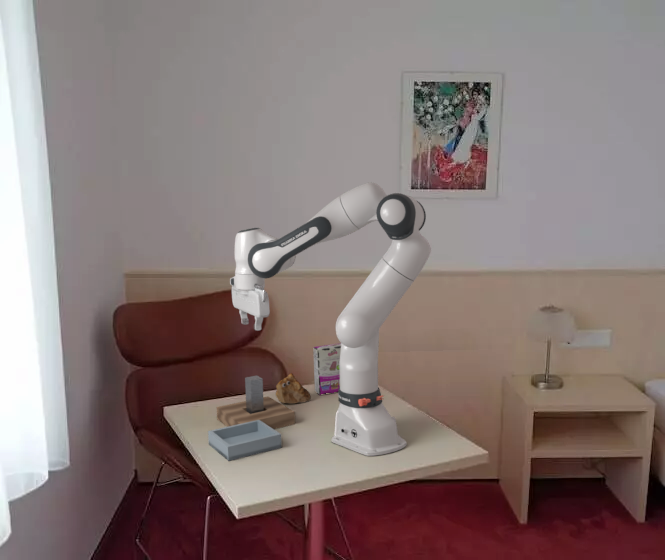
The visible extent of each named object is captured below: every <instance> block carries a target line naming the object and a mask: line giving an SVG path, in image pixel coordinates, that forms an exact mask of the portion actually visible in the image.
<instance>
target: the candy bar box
mask: <svg viewBox="0 0 665 560" xmlns="http://www.w3.org/2000/svg"><path fill="white" fill-rule="evenodd" d="M312 349H313V351H312V353H313V374H314V377H313V379H314V392H315V391H316V392H317V393H318V395H319V396H322V395H321V394H325V395H327V394H326V393H331V394H335V393H334V392H337V393H338V390H339V388H340V368H339V361H340V351H341V342H340V343H332V344H326V345H325V344H324V345H319V346H318V345H317V346H312ZM316 392H315V393H316ZM317 393H316V394H317Z"/></svg>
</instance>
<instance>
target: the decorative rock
mask: <svg viewBox="0 0 665 560" xmlns="http://www.w3.org/2000/svg"><path fill="white" fill-rule="evenodd" d="M275 387H276V392H275V396H276V398H277V399H278V402H279V403H281V404H291V405H292V404H298V403H307V401H308V402H310V401H311V398H312V396H311V393H310V392H309V390H308V389H307V388H305V387H303V384H301V383H300V382H299V381H298V379H297V378H296V377H295V375H294V374H293V372H290V373H289V374H288V375H287V376H286V377H284V378H283V379H281V380H279V382H277V384H276V385H275Z"/></svg>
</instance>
